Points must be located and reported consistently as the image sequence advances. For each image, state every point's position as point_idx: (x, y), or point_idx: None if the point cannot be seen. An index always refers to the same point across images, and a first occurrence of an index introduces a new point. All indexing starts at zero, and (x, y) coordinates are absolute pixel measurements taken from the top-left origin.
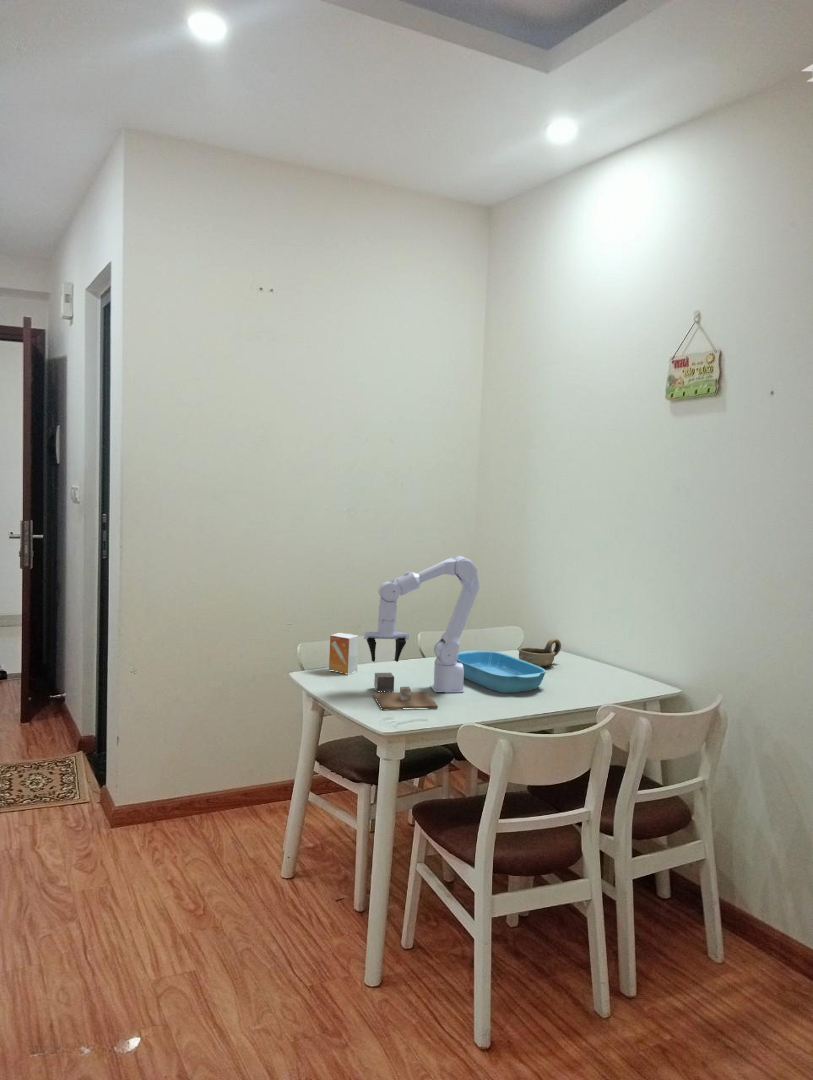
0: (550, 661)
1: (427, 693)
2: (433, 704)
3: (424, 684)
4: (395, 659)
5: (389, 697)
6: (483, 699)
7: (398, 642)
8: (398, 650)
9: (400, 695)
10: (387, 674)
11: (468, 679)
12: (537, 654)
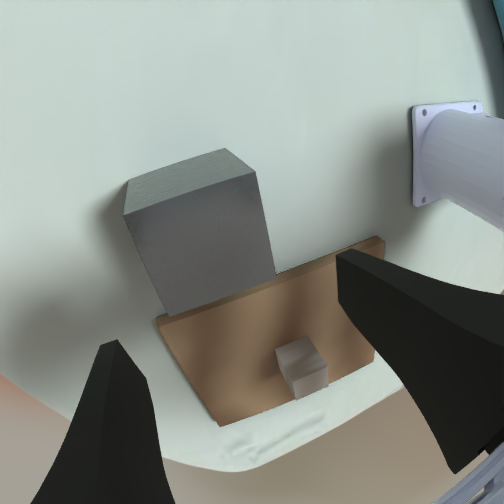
0: None
1: None
2: (365, 359)
3: (394, 67)
4: (344, 284)
5: (235, 357)
6: (484, 236)
7: (455, 452)
8: (411, 385)
9: (281, 365)
10: (229, 232)
11: (501, 31)
12: None
